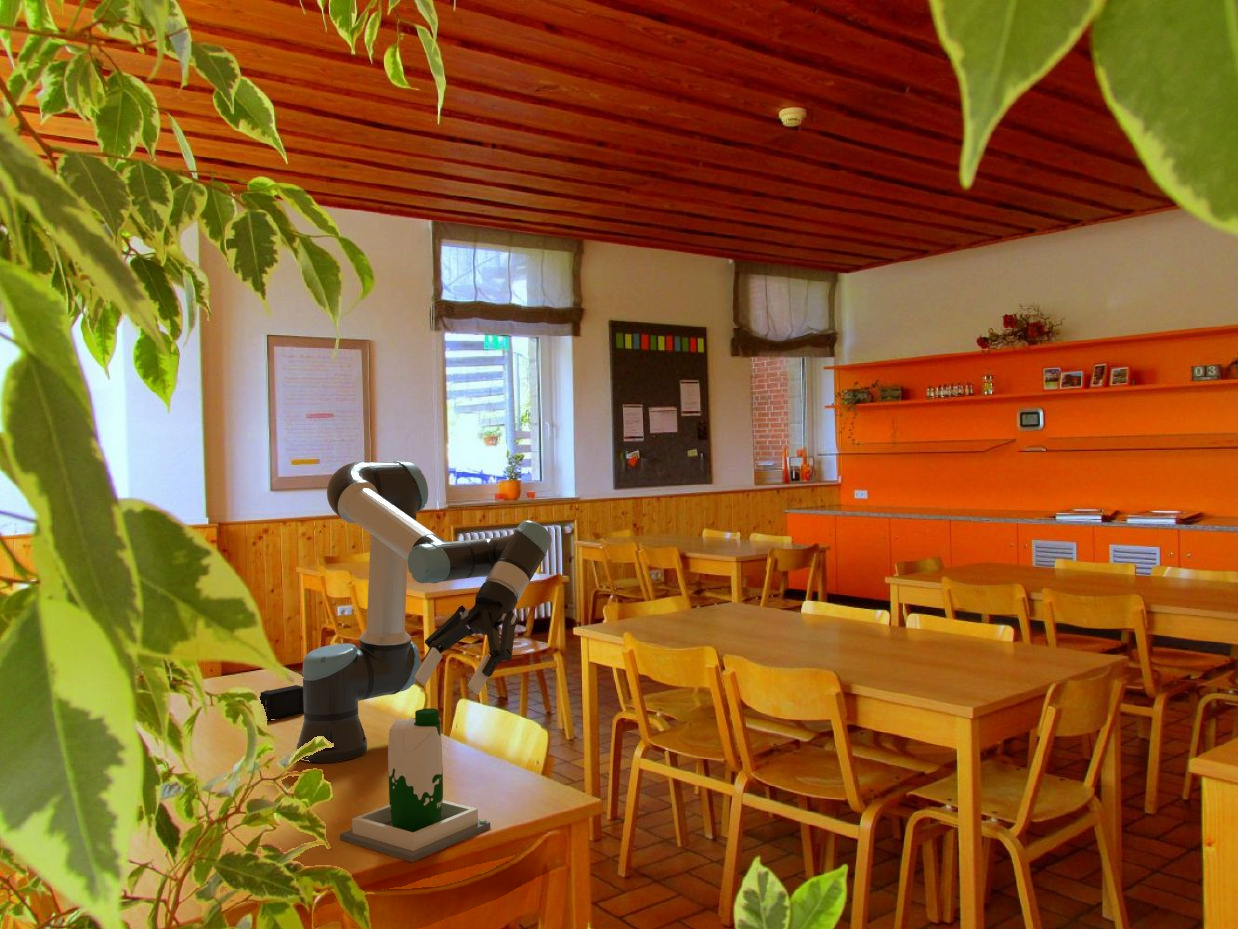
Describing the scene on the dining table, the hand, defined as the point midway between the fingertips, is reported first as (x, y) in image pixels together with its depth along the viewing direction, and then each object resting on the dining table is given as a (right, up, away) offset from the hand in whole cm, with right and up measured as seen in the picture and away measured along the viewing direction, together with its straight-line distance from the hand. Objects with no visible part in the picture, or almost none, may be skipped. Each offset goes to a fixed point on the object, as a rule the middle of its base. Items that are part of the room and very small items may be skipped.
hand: (445, 685), depth 183 cm
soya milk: (-4, -23, -6) cm, 24 cm away
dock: (-4, -24, -7) cm, 25 cm away
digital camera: (-55, -25, +80) cm, 101 cm away
